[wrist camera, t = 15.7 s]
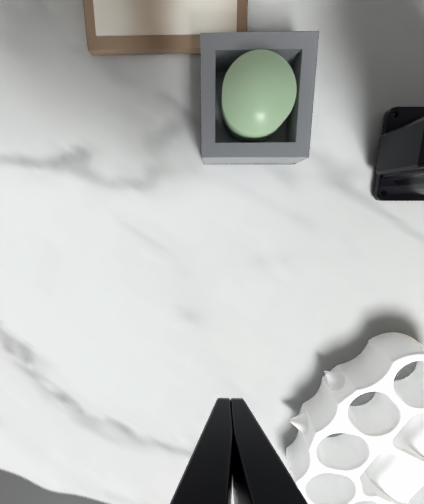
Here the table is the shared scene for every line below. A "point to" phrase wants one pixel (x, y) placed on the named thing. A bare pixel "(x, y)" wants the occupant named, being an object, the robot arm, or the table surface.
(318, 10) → the table surface
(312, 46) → the button housing
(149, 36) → the board
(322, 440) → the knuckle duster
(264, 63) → the button
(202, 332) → the table surface
